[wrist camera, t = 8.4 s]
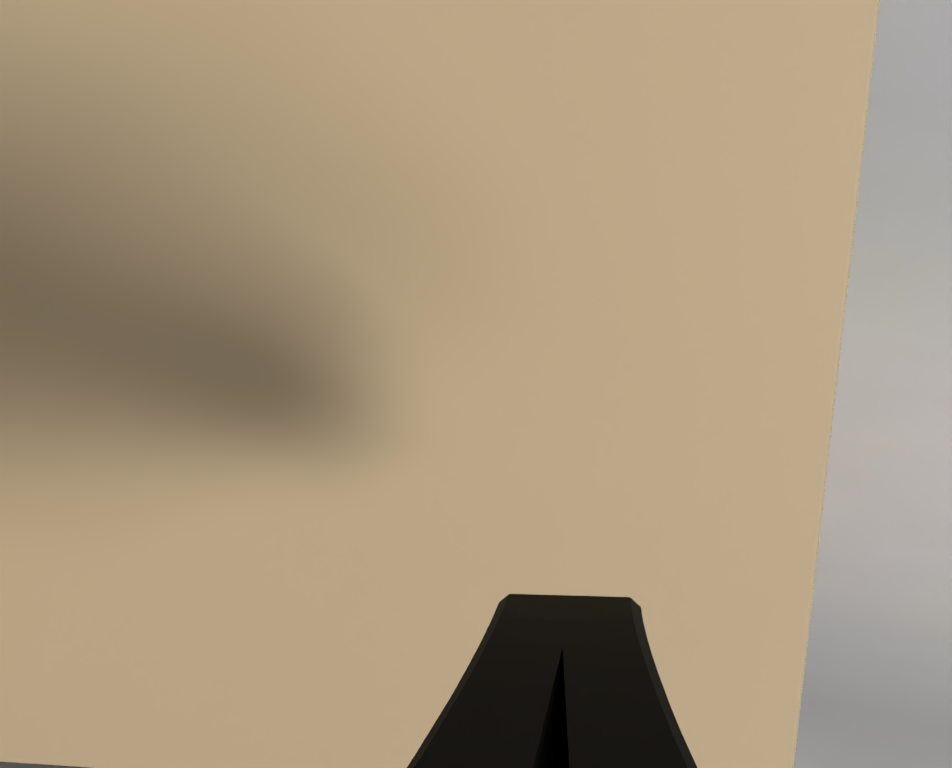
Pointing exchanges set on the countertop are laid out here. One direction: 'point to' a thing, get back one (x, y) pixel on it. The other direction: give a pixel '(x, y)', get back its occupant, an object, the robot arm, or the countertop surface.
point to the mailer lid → (410, 358)
